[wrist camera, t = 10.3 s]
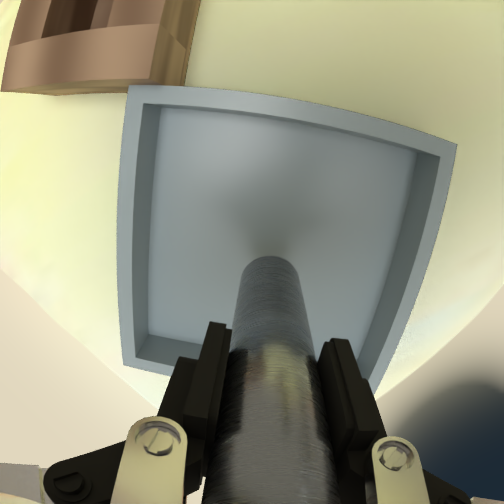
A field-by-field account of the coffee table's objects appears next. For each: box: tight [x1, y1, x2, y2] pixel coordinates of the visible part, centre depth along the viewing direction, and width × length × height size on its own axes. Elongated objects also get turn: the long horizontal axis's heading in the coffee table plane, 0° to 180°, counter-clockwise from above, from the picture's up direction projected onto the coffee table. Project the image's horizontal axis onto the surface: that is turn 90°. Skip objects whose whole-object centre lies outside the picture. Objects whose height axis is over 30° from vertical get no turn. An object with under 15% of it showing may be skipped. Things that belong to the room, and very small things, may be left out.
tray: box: [117, 85, 457, 396], centre depth 19 cm, size 18×18×4 cm
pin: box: [201, 256, 341, 504], centre depth 9 cm, size 5×5×15 cm
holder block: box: [1, 0, 201, 96], centre depth 13 cm, size 10×10×6 cm
